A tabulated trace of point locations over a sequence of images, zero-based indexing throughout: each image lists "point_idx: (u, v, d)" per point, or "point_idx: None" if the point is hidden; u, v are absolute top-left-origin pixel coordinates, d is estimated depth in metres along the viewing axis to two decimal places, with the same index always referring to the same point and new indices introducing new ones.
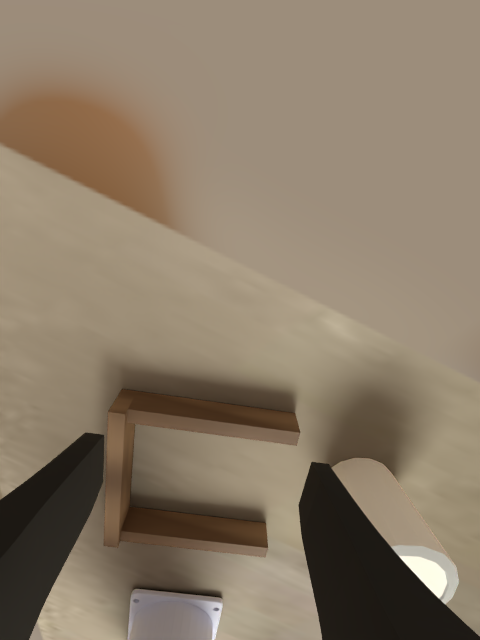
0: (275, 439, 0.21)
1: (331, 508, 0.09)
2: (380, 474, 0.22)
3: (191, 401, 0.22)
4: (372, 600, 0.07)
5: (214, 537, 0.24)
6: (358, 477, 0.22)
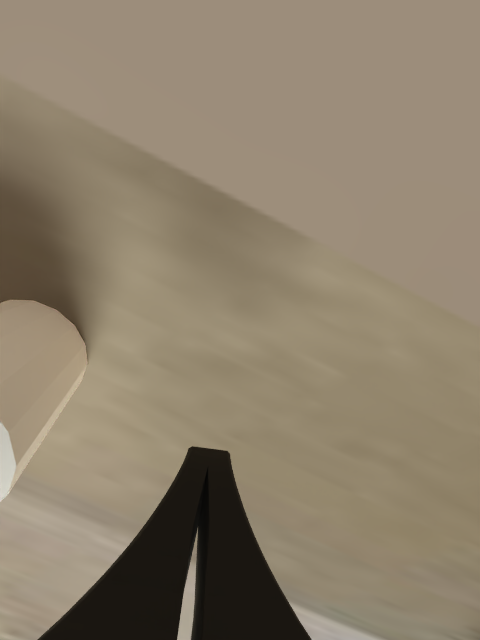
0: None
1: (207, 493, 0.09)
2: (15, 309, 0.14)
3: None
4: (205, 582, 0.07)
5: None
6: None
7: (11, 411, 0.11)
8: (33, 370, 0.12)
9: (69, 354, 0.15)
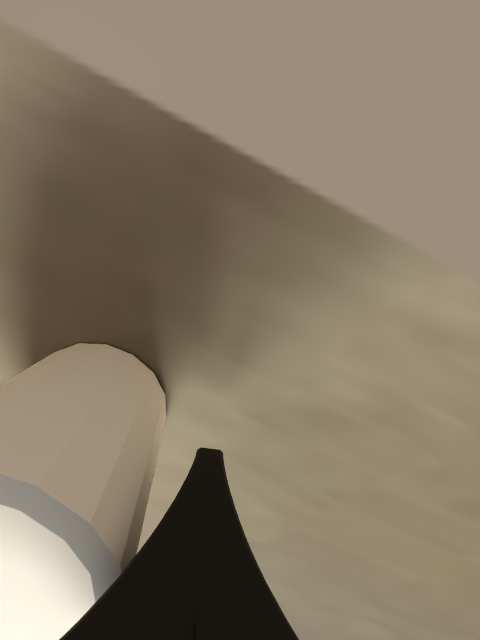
0: None
1: (199, 491, 0.09)
2: (91, 360, 0.11)
3: None
4: None
5: None
6: (42, 364, 0.11)
7: (118, 528, 0.08)
8: (130, 453, 0.09)
9: (155, 414, 0.12)
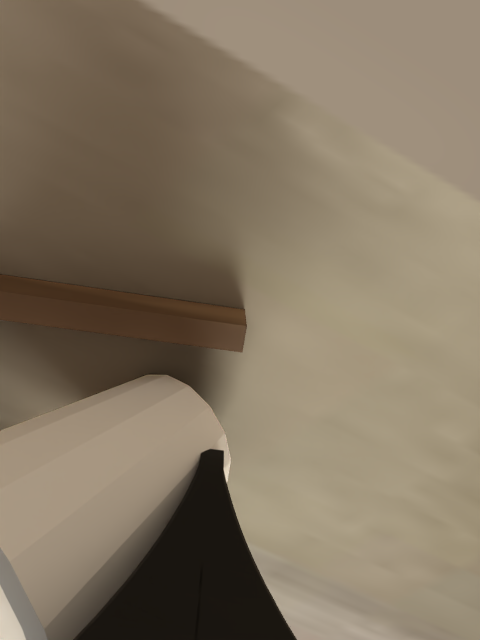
0: (202, 341, 0.12)
1: (197, 492, 0.09)
2: (137, 389, 0.11)
3: (61, 285, 0.13)
4: None
5: None
6: None
7: (62, 580, 0.06)
8: (124, 491, 0.08)
9: (195, 453, 0.10)
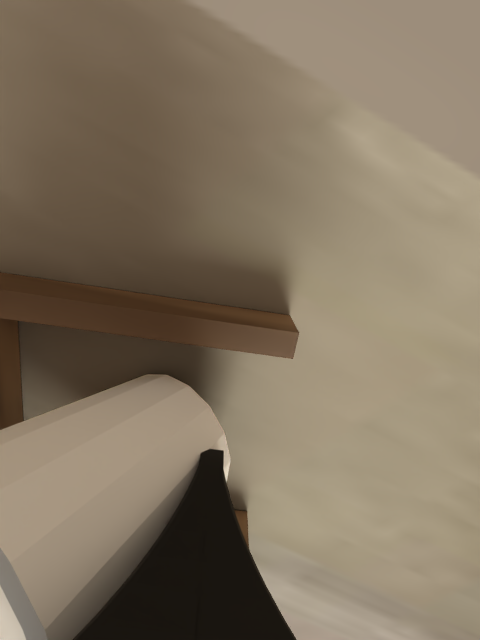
0: (254, 347, 0.12)
1: (197, 492, 0.09)
2: (136, 389, 0.11)
3: (109, 290, 0.13)
4: None
5: None
6: None
7: (63, 580, 0.06)
8: (125, 491, 0.08)
9: (195, 453, 0.10)
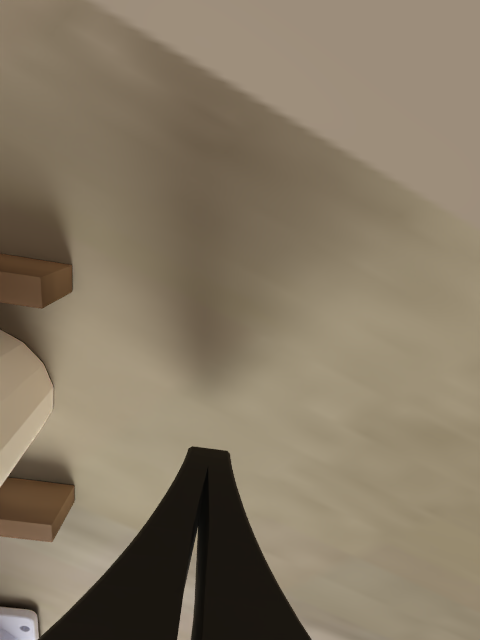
0: None
1: (207, 493, 0.09)
2: None
3: None
4: (204, 582, 0.07)
5: None
6: None
7: None
8: None
9: (14, 379, 0.12)
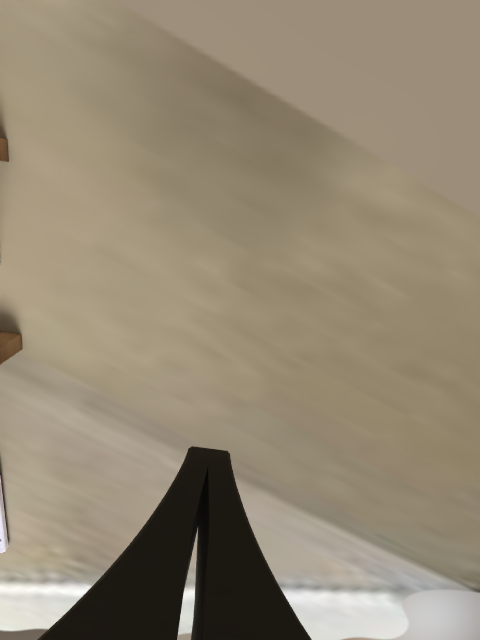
0: None
1: (207, 493, 0.09)
2: None
3: None
4: (205, 582, 0.07)
5: None
6: None
7: None
8: None
9: None
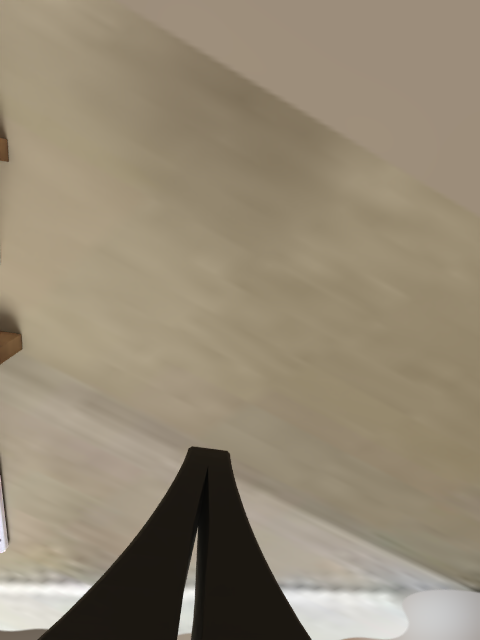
0: None
1: (207, 493, 0.09)
2: None
3: None
4: (205, 582, 0.07)
5: None
6: None
7: None
8: None
9: None
